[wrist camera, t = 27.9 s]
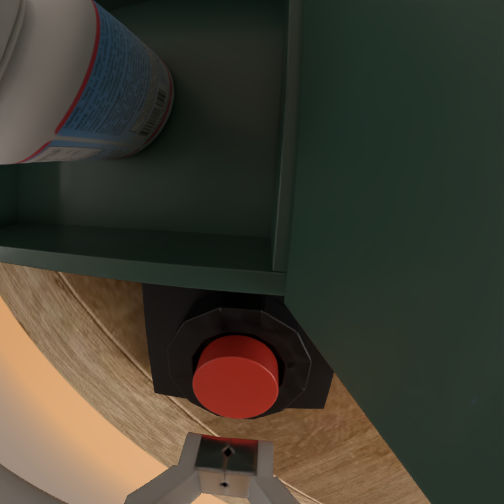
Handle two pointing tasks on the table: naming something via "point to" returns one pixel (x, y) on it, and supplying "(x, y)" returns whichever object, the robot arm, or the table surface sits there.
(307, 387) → the control block
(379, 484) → the table surface
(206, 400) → the button
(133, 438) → the table surface
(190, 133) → the box
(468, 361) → the box lid
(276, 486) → the robot arm
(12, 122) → the pill bottle
